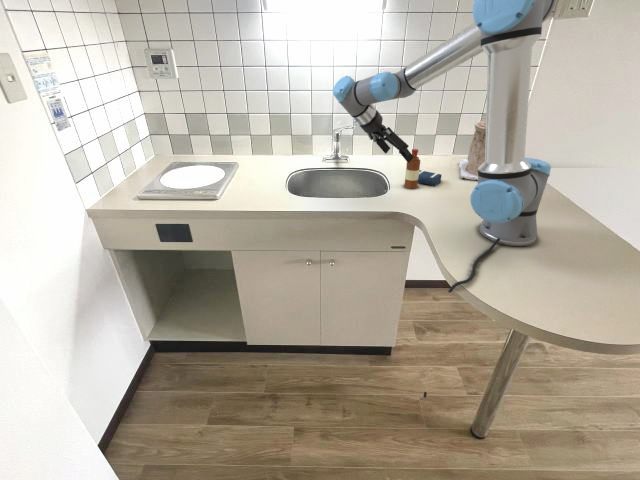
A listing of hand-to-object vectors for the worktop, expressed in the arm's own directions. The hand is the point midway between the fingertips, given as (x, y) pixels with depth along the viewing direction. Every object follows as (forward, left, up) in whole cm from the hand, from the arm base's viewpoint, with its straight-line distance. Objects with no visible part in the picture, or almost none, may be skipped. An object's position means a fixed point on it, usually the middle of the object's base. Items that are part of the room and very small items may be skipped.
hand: (398, 155), depth 130 cm
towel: (+16, -6, -14) cm, 22 cm away
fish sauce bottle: (+7, -3, -14) cm, 16 cm away
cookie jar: (+42, -24, -14) cm, 50 cm away
